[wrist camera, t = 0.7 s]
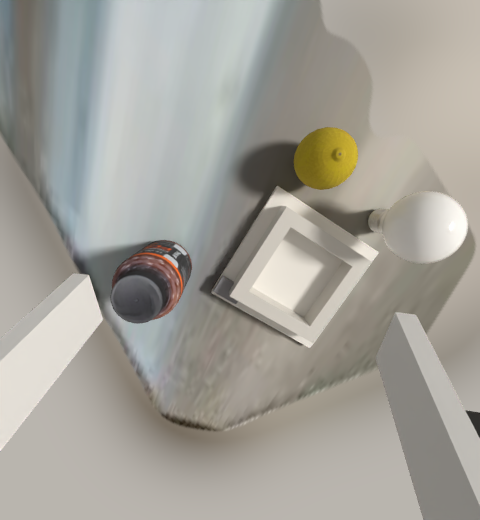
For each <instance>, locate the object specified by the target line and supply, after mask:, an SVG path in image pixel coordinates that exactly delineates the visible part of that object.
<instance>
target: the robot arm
mask: <svg viewBox="0 0 480 520" xmlns="http://www.w3.org/2000/svg"><path fill="white" fill-rule="evenodd" d="M102 320H103V318H102V315H101V312H100V308H99V305H98V302H97V299H96V296H95V293H94V290H93V286H92V283H91V280H90V277H89V275H85V274H76V273H73V274H72V275H71V276H70V277H68V278H67V279H66V280H65V281H64V282H63V283H62V284H61V285H59V286H58V287H57V288H56V289H55V290H54V291H53V292H52V293H50V294H49V295H48V296H47V297H46V298H45V299H44V300H43V301H42V302H41V303H39V304H38V305H37V306H36V307H35V308H34V309H33V310H31V311H30V312H29V313H28V314H27V315H26V316H25V317H24V318H23V319H22V320H20V321H19V322H18V323H17V324H16V325H15V326H14V327H12V328H11V329H10V330H9V331H8V332H7V333H6V334H5V335H4V336H2V337H1V339H0V451H1V450H2V449H3V447H4V446H5V445H6V443H7V442H8V441H9V439H10V438H11V437H12V436H13V434H14V433H15V432H16V430H17V429H18V428H19V427H20V425H21V424H22V423H23V422H24V420H25V419H26V418H27V416H28V415H29V414H30V413H31V411H32V410H33V409H34V407H35V406H36V405H37V404H38V402H39V401H40V400H41V398H42V397H43V396H44V395H45V393H46V392H47V391H48V390H49V388H50V387H51V386H52V384H53V383H54V382H55V381H56V379H57V378H58V377H59V375H60V374H61V373H62V372H63V370H64V369H65V368H66V366H67V365H68V364H69V363H70V361H71V360H72V359H73V357H74V356H75V355H76V354H77V352H78V351H79V350H80V348H81V347H82V346H83V345H84V343H85V342H86V341H87V340H88V338H89V337H90V336H91V334H92V333H93V332H94V330H95V329H96V328H97V327H98V325H99V324H100V323H101V322H102ZM376 360H377V364H378V367H379V371H380V374H381V377H382V380H383V384H384V387H385V390H386V394H387V397H388V401H389V404H390V408H391V411H392V415H393V418H394V421H395V425H396V428H397V431H398V435H399V438H400V441H401V445H402V449H403V452H404V455H405V459H406V462H407V465H408V469H409V472H410V476H411V479H412V482H413V486H414V489H415V493H416V496H417V499H418V503H419V506H420V510H421V513H422V516H423V520H480V413H478V412H472V411H465V409H464V407H463V405H462V403H461V402H460V399H459V397H458V395H457V393H456V391H455V389H454V388H453V386H452V384H451V382H450V380H449V378H448V376H447V374H446V372H445V370H444V368H443V366H442V364H441V363H440V360H439V359H438V357H437V355H436V353H435V351H434V349H433V347H432V345H431V343H430V341H429V339H428V337H427V335H426V333H425V331H424V329H423V328H422V326H421V324H420V322H419V320H418V318H417V316H416V315H414V314H406V313H398V312H395V315H394V317H393V319H392V321H391V324H390V326H389V328H388V331H387V333H386V335H385V338H384V340H383V342H382V344H381V347H380V349H379V351H378V354H377V356H376Z"/></svg>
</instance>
